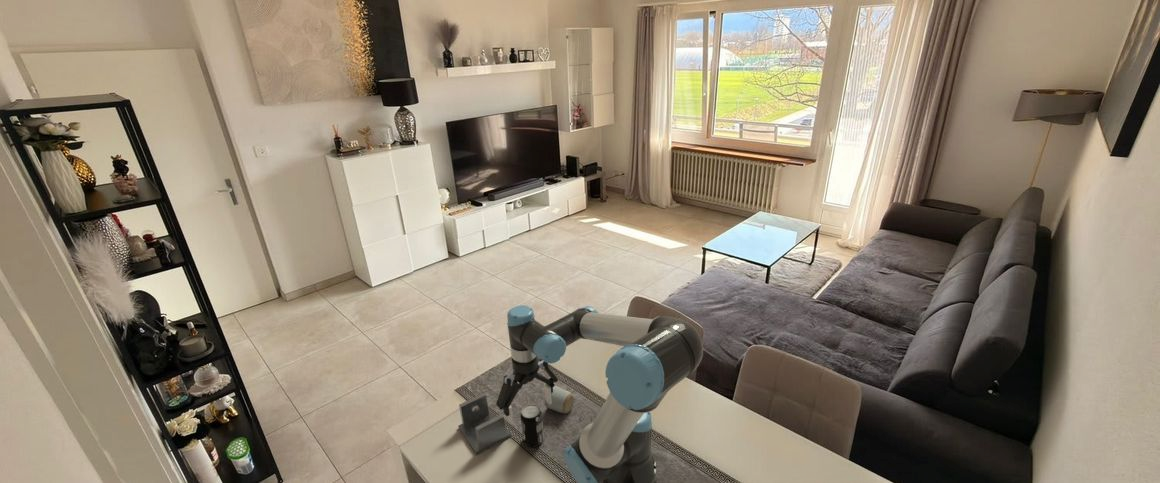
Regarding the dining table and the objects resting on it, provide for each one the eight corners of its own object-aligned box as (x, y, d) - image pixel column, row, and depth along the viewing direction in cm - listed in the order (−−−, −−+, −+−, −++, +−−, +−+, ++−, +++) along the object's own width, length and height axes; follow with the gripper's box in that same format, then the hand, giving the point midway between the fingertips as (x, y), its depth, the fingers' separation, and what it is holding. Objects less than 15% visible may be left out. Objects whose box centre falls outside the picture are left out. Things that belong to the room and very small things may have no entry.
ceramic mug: (565, 419, 159) (564, 401, 156) (544, 411, 163) (543, 393, 160) (580, 399, 168) (579, 382, 165) (560, 392, 171) (559, 375, 168)
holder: (510, 436, 154) (508, 414, 150) (476, 454, 147) (472, 432, 144) (491, 411, 164) (488, 390, 160) (458, 428, 158) (454, 406, 154)
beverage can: (520, 436, 153) (517, 407, 148) (539, 429, 156) (536, 400, 151) (527, 451, 148) (523, 421, 143) (547, 443, 150) (544, 414, 145)
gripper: (553, 333, 148) (556, 387, 157) (479, 366, 135) (487, 422, 144) (567, 345, 142) (570, 400, 151) (491, 380, 129) (499, 438, 138)
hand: (530, 411), depth 147 cm, fingers open, 13 cm apart
